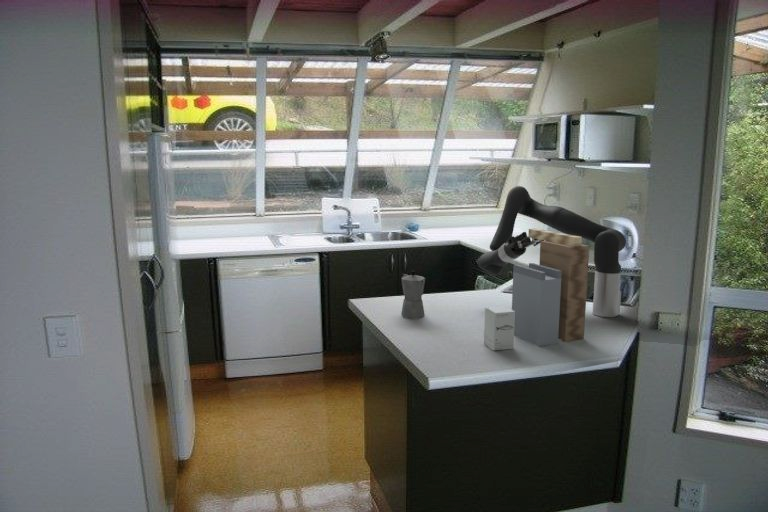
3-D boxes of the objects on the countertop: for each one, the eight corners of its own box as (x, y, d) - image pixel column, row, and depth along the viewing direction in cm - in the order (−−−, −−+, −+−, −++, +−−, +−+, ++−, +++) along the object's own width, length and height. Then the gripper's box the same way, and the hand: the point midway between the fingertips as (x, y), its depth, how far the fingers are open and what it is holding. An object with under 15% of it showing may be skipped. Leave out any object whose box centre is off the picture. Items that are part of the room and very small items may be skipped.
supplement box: (493, 351, 176) (494, 312, 174) (483, 343, 183) (484, 307, 181) (514, 349, 178) (515, 311, 176) (503, 341, 185) (504, 305, 183)
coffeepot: (432, 317, 214) (433, 272, 211) (413, 321, 209) (413, 274, 206) (409, 308, 227) (409, 265, 223) (390, 312, 221) (390, 268, 218)
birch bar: (528, 237, 203) (528, 229, 203) (535, 236, 204) (535, 228, 204) (574, 246, 181) (574, 237, 181) (581, 245, 182) (581, 236, 182)
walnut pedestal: (554, 326, 202) (558, 239, 196) (583, 338, 188) (589, 245, 182) (536, 329, 199) (540, 241, 193) (565, 341, 185) (570, 247, 179)
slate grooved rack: (529, 330, 197) (532, 262, 193) (557, 342, 184) (561, 270, 180) (510, 333, 194) (513, 264, 190) (538, 346, 181) (541, 272, 176)
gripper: (493, 242, 214) (516, 225, 200) (524, 239, 219) (548, 223, 205) (498, 260, 212) (522, 244, 198) (529, 257, 217) (554, 241, 203)
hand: (535, 233), depth 201 cm, fingers open, 8 cm apart
